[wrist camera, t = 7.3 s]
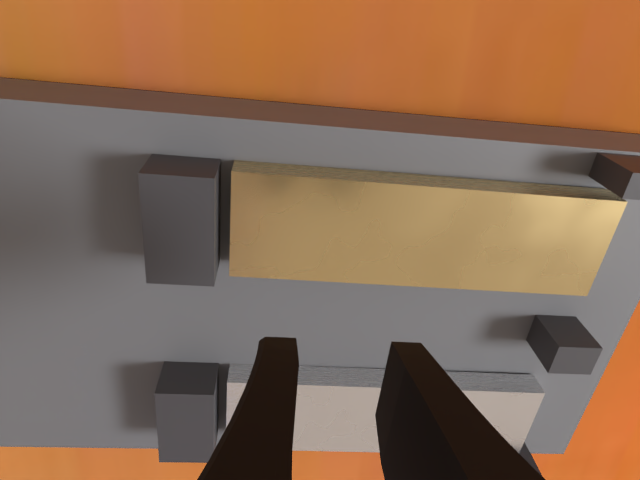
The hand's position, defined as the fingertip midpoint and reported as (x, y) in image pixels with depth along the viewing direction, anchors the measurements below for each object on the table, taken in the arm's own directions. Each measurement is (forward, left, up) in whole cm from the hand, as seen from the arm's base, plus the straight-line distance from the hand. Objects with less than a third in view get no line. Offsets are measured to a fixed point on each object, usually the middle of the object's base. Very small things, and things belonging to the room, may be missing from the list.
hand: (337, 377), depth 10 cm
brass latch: (0, -3, -7) cm, 8 cm away
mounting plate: (-4, 0, -9) cm, 10 cm away
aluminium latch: (-8, -3, -7) cm, 11 cm away
